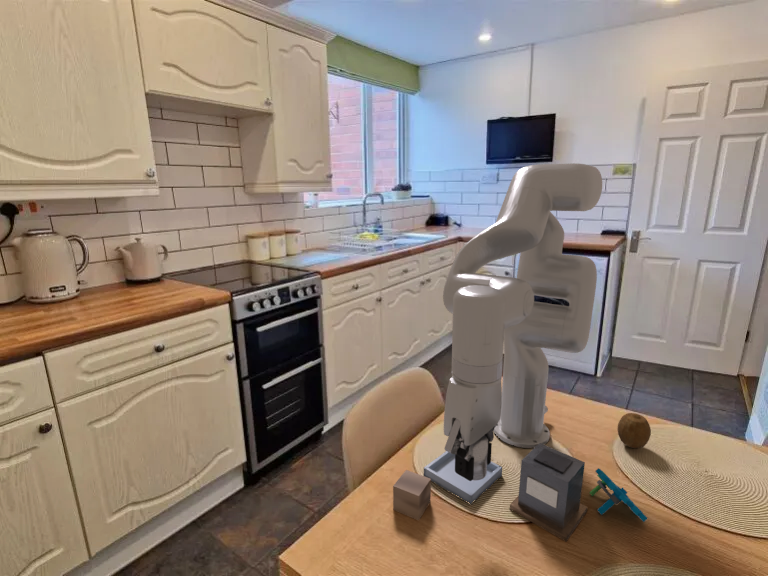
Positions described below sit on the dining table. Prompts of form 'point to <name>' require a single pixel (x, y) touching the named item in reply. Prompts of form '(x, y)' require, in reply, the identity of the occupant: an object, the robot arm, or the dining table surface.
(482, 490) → the tray
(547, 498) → the box with rectangular openings
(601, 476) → the blue green-pegged part
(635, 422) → the fruit
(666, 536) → the dining table surface
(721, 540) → the dining table surface
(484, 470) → the metal cylinder
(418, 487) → the block
